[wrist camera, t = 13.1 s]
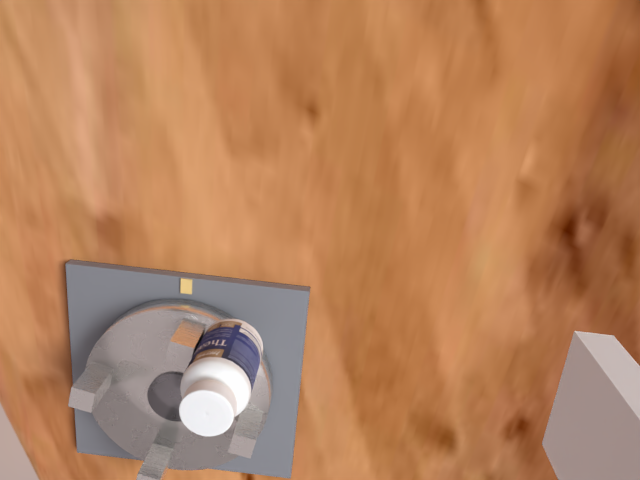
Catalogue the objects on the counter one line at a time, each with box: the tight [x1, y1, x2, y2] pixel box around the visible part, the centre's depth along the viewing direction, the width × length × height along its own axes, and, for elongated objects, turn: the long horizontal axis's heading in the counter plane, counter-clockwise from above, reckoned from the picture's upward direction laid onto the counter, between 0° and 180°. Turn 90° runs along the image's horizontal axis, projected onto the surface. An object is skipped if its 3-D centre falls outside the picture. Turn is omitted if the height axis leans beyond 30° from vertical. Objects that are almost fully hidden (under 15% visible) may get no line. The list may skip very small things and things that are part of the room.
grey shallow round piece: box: [68, 299, 273, 480], centre depth 51 cm, size 17×17×6 cm
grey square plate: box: [66, 260, 310, 478], centre depth 55 cm, size 21×22×1 cm
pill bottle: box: [179, 319, 263, 437], centre depth 45 cm, size 5×5×10 cm
